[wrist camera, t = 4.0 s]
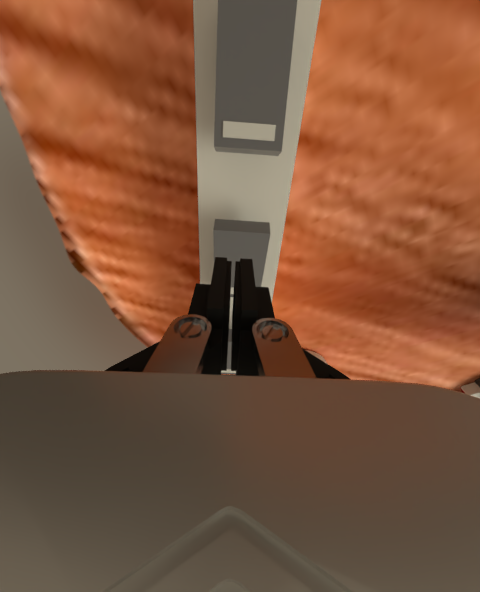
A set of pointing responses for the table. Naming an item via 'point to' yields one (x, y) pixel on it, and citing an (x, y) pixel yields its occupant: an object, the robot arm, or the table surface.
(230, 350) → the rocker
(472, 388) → the usb drive
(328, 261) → the table surface
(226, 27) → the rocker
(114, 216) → the table surface
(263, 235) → the rocker middle
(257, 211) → the power strip
